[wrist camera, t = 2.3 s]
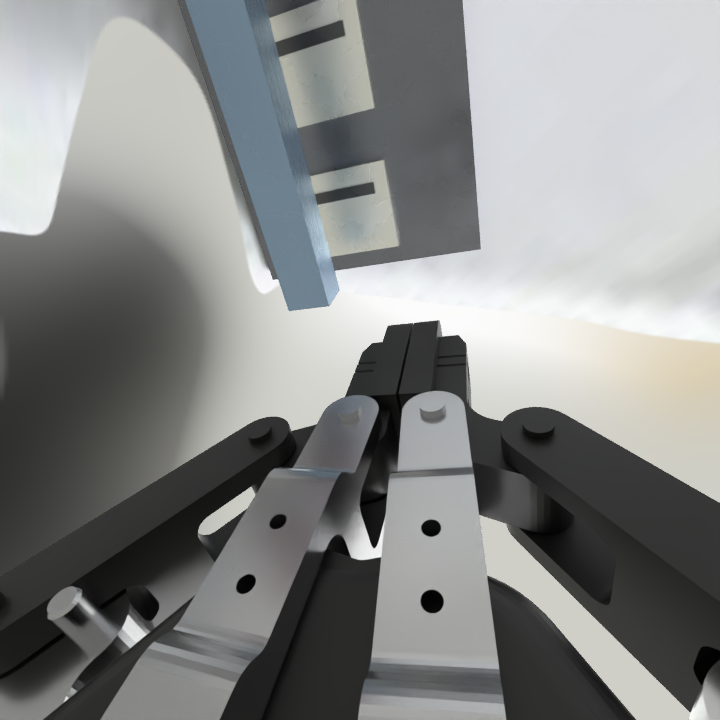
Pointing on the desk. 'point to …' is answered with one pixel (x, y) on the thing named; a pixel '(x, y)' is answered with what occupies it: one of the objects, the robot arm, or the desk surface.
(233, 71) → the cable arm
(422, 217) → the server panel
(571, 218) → the desk surface
